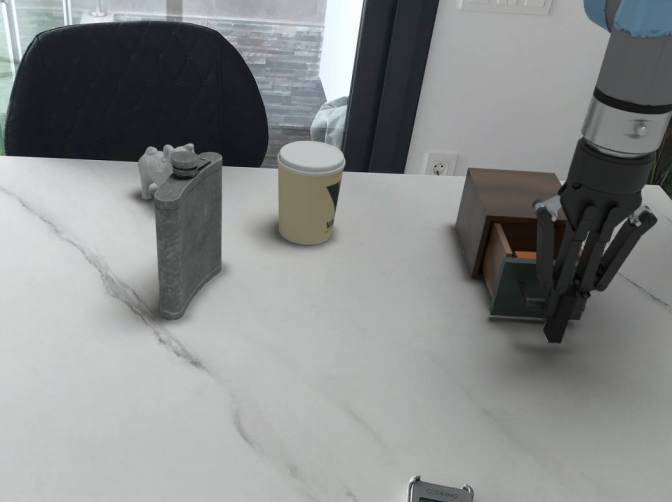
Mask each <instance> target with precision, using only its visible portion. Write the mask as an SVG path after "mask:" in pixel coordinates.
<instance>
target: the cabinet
mask: <svg viewBox="0 0 672 502" xmlns="http://www.w3.org/2000/svg"><path fill="white" fill-rule="evenodd" d="M466 171H467V172H466V175H465V180H464V184H463V189H462V194H461V198H460V202H459V207H458V211H457V216H456V220H455V225H454V230H455V233H456V235H457V238H458V242H459V245H460V248H461V252H462V254H463V258H464V261H465V265H466V267H467V270H468V273H469V276H470V279H472V280H485V278H484V275H483V272H482V269H481V266H480V263H481V259H482V255H483V251H484V247H485V243H486V239H487V235H488V231H489V227H490V223H491V221H501V222H517V223H534V224H537V221H538V219H537V217H536V214H535V212H534V209H533V207H532V204H533V202H534V201H535V200H537V199H541V200H542V201H543V202H544V201H546V200H548V199H550V198H553V197H555V196H557V193H558V190H559V189H560V187H561V186H562V185H563V184H562V183H561V181H560V179H559V177H558V176H557V174H556V173H555V172H548V171H547V172H546V171H530V170H513V169H500V168H499V169H497V168H483V167H467V170H466ZM566 222H567V218H566V216H565V214H564V211H563V209H562V207H561V208H560V209H559V210H558V217H557V219H556V221H553V224H554V225H566Z"/></svg>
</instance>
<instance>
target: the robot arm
mask: <svg viewBox="0 0 672 502" xmlns="http://www.w3.org/2000/svg"><path fill="white" fill-rule="evenodd" d="M582 2H583V9H584V13H585V15H586V16H587V18H588V19H589V21H591V22H592V23H593V24H595V25H596V26H598V27H600V28H602V29H603V30H605V31H606V32H608V33H609V34H610V35H609V38H608V42H607V45H606V49H605V52H604V56H603V59H602V62H601V66H600V69H599V72H598V76H597V79H596V83H595V86H594V89H593V92H592V95H591V97H590V101H589V104H588V106H587V110H586V113H585V116H584V118H583V119H584V120H583V123H582V125H581V129H580V133H581V135H582V136H581V137H580V138H579V139H578V140H577V143H576V146H575V148H574V152H573V155H572V159H571V161H570V165H569V169H568V173H567V176H566V180H565V181H564V183H563V184H561V185H562V186H561V187H560V189H559V190H558V193H557V196H555V197H553V198H550V199H548V200H546V201H544V202H543V201H542V200H541V199H537V200H535V201H534V202H533V204H532V207H533V209H534V212H535V214H536V217H537V219H538V221H537V253H536V276H537V278H538V280H539V282H540V285H541V287H542V288H544V289H547V288H549V289H548V292H547V295H546V298H545V301H544V304H543V306H544V310H545V312H546V315H547V318H546V319H545V320H544V324H543V328H542V332H543V333H544V336H545V338H546V341H547V343H548V344H562V342H563V339H564V335H565V333H566V330H567V327H568V325H569V322H570V320H569V319H570V317H576V316H577V315H578V314H579V312H580V309H581V306H582V304H583V301H584V299H587V300H588V299H589V298H591V296H592V294H591V293H592V292H594V291H596V292H600V293H602V292H604V291H606V290H607V288H608V287H609V285H610V284H611V283H612V281H613V280H614V278H615V276H616V275H617V274H618V272H619V271H620V269H621V267H622V266H623V265H624V263H625V262H626V260H627V258H628V257H629V255H630V254H631V252H632V251H633V250H634V248H635V247H636V245H637V244H638V243H639V241H640V239H641V238H642V237H643V235H645V234H646V233H647V232H649V231H650V230H651V229H652V228H653V227H654V226H655V225H656V224H657V223H658V217H657V216H656V214H655V213H654V212H653V211H652V209H651V208H650V207H649V206H648V205H644V204H643V196H642V192H643V191H642V190H643V189H644V188H645V186H646V184H647V181H648V179H649V176H650V173H651V171H652V168H653V165H654V163H655V161H656V154H655V151H657V150H658V149H659V148H660V147H661V145H662V141H663V138H664V135H665V133H666V130H667V128H668V126H669V122H670V120H671V118H672V0H582ZM561 207H562V209H563V211H564V214H565V216H566V218H567V222H566V231H565V234H564V237H563V240H562V243H561V246H560V249H559V252H558V256H557V259H556V262H555V265H554V268H553V253H554V224H553V221H556V219H557V217H558V210H559V209H560V208H561ZM622 222H623V223H622ZM621 223H622V225H621V226H620V228H619V229H618V231H617V232H616V234H615V235H614V237H613V239H612V236H613V233H614V230H615V229H616V227H618V226H619V225H620V224H621ZM611 239H612V240H611ZM610 241H611V242H610ZM583 243H584V244H583ZM608 243H609V244H608ZM607 244H608V247H606V246H607ZM582 246H583V248H582ZM581 248H582V250H583V251H582V254H581V257H580V259H579V262H578V265H577V268H576V271H575V274H574V277H573V286H572V285H571V284H568V283H569V281H570V278H571V275H572V272H573V269H574V266H575V263H576V260H577V257H578V255H579V252H580V249H581Z"/></svg>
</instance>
